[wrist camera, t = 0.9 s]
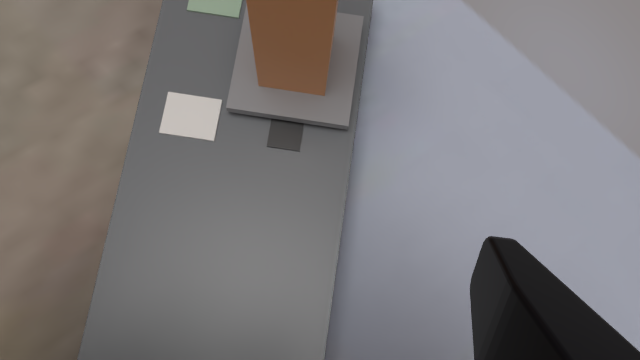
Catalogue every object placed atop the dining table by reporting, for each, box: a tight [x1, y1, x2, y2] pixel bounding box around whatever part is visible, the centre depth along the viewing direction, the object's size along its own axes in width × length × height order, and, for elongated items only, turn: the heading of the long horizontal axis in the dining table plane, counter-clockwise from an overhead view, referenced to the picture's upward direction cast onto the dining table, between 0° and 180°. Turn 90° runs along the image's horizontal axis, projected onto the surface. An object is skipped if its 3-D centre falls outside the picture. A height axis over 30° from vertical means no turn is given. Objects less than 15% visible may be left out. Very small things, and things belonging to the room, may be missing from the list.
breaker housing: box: [77, 0, 373, 360], centre depth 22 cm, size 22×8×3 cm, turn 172°
